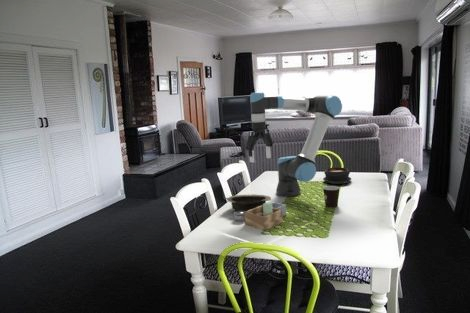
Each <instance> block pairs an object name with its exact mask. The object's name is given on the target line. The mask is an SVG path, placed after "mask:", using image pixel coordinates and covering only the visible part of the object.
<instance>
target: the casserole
mask: <svg viewBox="0 0 470 313" xmlns="http://www.w3.org/2000/svg"><path fill="white" fill-rule="evenodd" d="M323 173H324V177H323V178H322V179H323V181H324V182H326V183H327V182H328V183H329V184H337V185H339V184H340V185H341V184H348V183H349V182H350V181H351V180H352V178H351V177H350V174H351V172H350V171H349V168H347V167H328V168H326V169H325V170H324V172H323Z"/></svg>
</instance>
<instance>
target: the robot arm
mask: <svg viewBox="0 0 470 313" xmlns="http://www.w3.org/2000/svg"><path fill="white" fill-rule="evenodd" d="M249 96H250V98H249V101H250V115H251V117H250V118H251V129H252V131H248V137H247V141H246V145H245V150H246V151H248V157H249V163H255V150H254V147H255V145H257V144H256V143H257V141H258V140H262V141H263V143H264V144H265V145H266V146H265V158H266V159H271V158H272V154H271V152H272V147H273V145H274V142H273V140H272V136H271V134H270V129H269V128H266V127H267V126H266V125H267V124H266V111H267V110H279V111H281V110H282V111H298V112H301V113H308V114H312V115H314V116H315V118H314V120H313V123H312V125H311V127H310V130H309V133H308V135H307V138H306V139H305V143H304V145H303V147H302V150H301V151H300V153H299V154H296V155H290V156H283V157H279V158H278V159H277V176H278V182H277V185H276V190H275V191H276V192H275V194H276V195H277V196H280V197H294V196H295V197H296V196H299V195H300V194H301V187H300V185H299V182H302V183H308V182H310V181H311V180H313V179H314V178H315V176H316V174H317V169H316V168H317V167H316V163H317V162H316V159H315V158H316V156H317V154H318V151H319V149H320V147H321V144H322V141H323V139H324V138H325V137H324V136H325V134H326V132H327V129H328V127H329V125H330V123H332V122H333V121H334V119H335V117H336V116H338V115H340V114H341V112H342V110H343V104H342V101H341V98H339V97H338V96H337V95H332V94H329V95H315V96H302V97H285V96H283V95H281V94H271V95H268V94H267V95H266V94H265V92H263V91H262V92H251V93H250V95H249Z"/></svg>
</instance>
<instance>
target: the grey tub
mask: <svg viewBox="0 0 470 313" xmlns="http://www.w3.org/2000/svg"><path fill="white" fill-rule="evenodd" d="M271 203H272V208H276V209H281V210H282V215H283V217H284V216H286V215H287V204H286V203H285V204H283V203H280V202H274V201H273V202H271Z"/></svg>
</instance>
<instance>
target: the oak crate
mask: <svg viewBox="0 0 470 313" xmlns="http://www.w3.org/2000/svg"><path fill="white" fill-rule="evenodd" d="M272 210H273V213H272V214H269V215H267V216H261V215H257V214H255V213H257V212H259V213H263V205H261V206H259V207H256V208H254V209H251V210H248V211H246V212H244V215H245V221H244V225H246V226H249V227H254V228H255V229H256V228H257V229H260V230H263V231H266V230H268V229H270V228H273V227H275V226H277V225H280V224H281V223H284V222H283V220H284V219H283V218H284V216H283V215H282V210H281V209H276V208H272Z"/></svg>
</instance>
